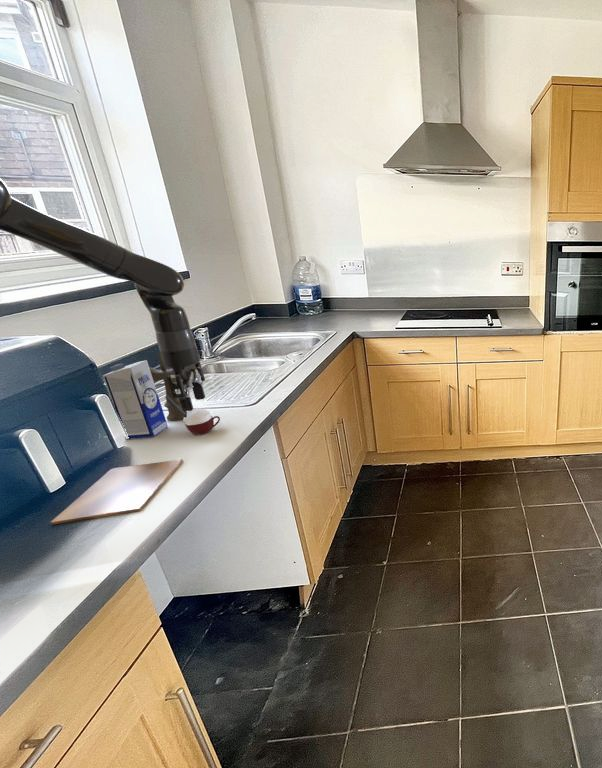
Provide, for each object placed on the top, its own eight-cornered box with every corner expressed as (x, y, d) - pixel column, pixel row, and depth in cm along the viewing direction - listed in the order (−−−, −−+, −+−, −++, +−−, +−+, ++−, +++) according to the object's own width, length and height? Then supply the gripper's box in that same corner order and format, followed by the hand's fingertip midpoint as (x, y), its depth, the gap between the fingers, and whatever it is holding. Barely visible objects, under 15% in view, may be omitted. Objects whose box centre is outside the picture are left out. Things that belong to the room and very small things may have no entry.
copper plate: (51, 524, 78) (50, 522, 78) (112, 470, 96) (111, 468, 96) (140, 511, 82) (139, 508, 82) (183, 461, 100) (182, 459, 100)
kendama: (193, 420, 122) (174, 354, 115) (154, 424, 120) (132, 357, 113) (200, 412, 128) (183, 349, 121) (163, 416, 125) (143, 352, 118)
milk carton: (153, 437, 112) (130, 366, 105) (124, 439, 110) (99, 368, 104) (168, 426, 118) (147, 359, 111) (141, 428, 117) (118, 360, 110)
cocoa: (224, 425, 118) (213, 386, 114) (215, 435, 113) (203, 394, 109) (186, 429, 116) (174, 389, 112) (175, 439, 111) (162, 397, 107)
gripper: (173, 341, 112) (189, 397, 117) (146, 355, 99) (166, 416, 105) (205, 339, 114) (219, 394, 119) (183, 352, 101) (200, 413, 107)
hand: (194, 404), depth 112 cm, fingers open, 8 cm apart
